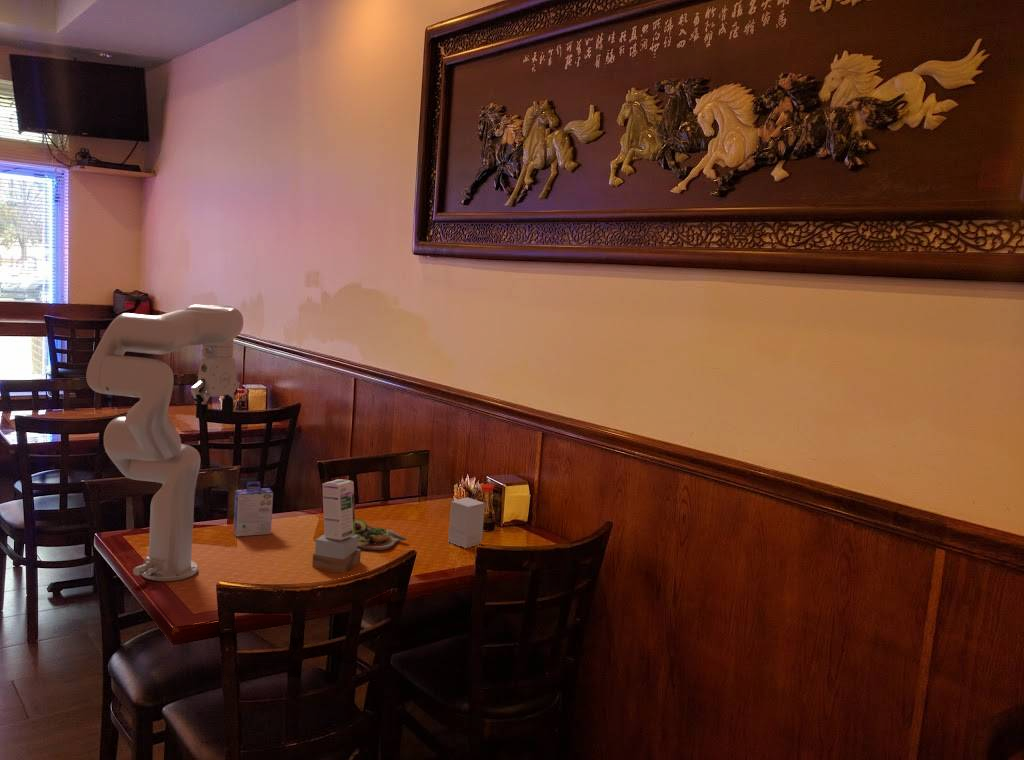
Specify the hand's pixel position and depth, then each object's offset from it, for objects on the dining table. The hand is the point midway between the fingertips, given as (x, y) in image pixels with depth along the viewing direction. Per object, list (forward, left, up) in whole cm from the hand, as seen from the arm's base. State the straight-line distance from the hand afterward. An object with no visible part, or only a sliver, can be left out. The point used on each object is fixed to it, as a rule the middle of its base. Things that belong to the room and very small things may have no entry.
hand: (214, 416), depth 209 cm
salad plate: (+25, -34, -35) cm, 55 cm away
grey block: (+3, -37, -31) cm, 48 cm away
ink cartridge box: (+12, -5, -35) cm, 37 cm away
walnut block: (+4, -37, -35) cm, 51 cm away
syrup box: (+4, -38, -27) cm, 47 cm away
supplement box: (+39, -59, -35) cm, 79 cm away
